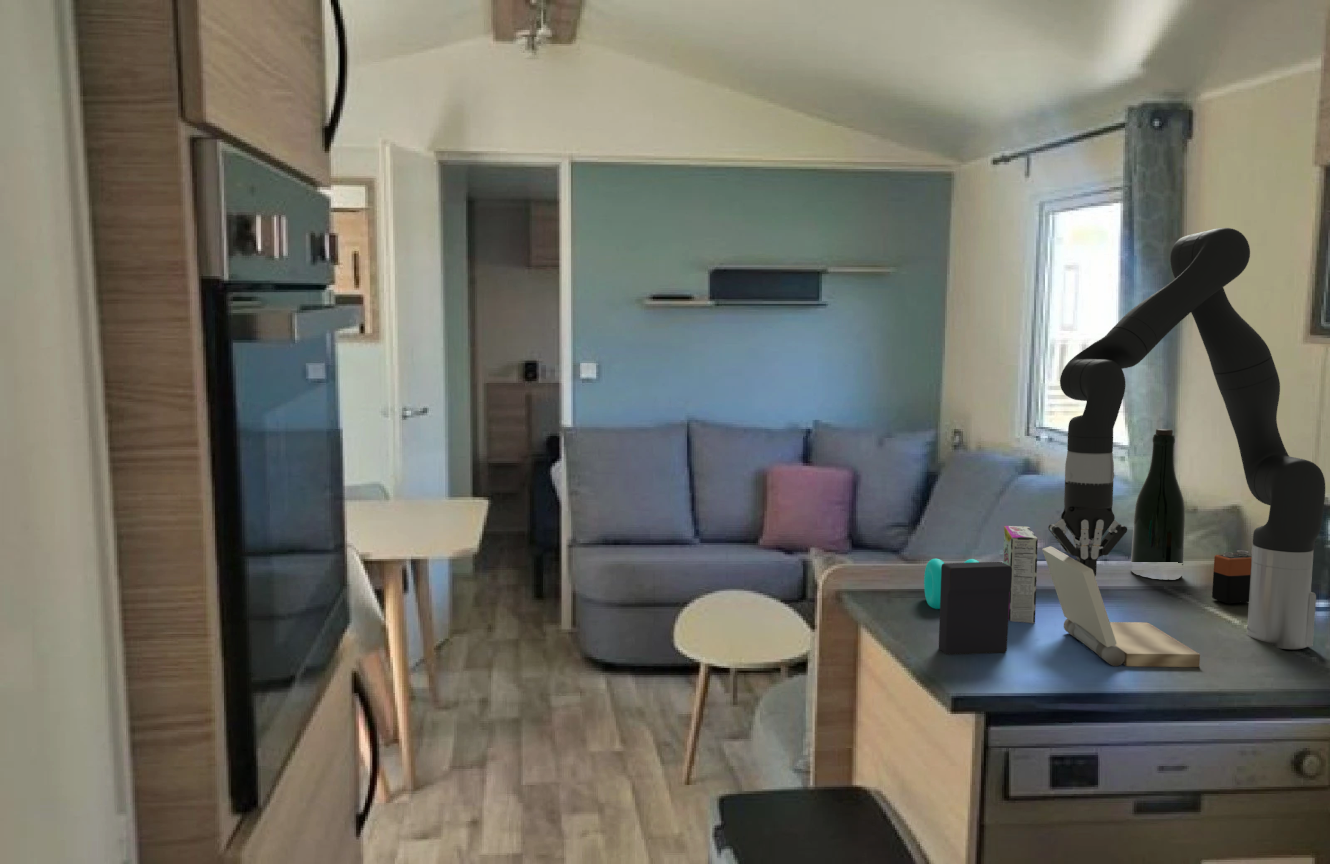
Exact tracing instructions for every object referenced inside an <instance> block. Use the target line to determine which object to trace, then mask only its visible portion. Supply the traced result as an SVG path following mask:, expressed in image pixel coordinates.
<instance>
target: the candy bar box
mask: <svg viewBox="0 0 1330 864" xmlns="http://www.w3.org/2000/svg"><path fill="white" fill-rule="evenodd" d="M1038 540H1039V538H1038V537H1037V536H1036V534H1035V533H1034V531H1033V530H1032V529H1031V527H1029V526H1022V525H1021V526H1019V525H1004V526H1003V550H1002V551H1003V553H1002V555H1003V556H1002V558H1003V559H1002V563H1005V564H1007V565H1009V566H1011V567H1012V583H1011V590H1010V592H1009V611H1008V622H1016V623H1025V624H1027V623H1028V624H1036V607H1037V605H1036V604H1037V603H1036V601H1037V599H1036V598H1037V572H1038V570H1037V569H1038V543H1039V541H1038Z"/></svg>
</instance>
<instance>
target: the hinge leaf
mask: <svg viewBox="0 0 1330 864" xmlns="http://www.w3.org/2000/svg"><path fill="white" fill-rule="evenodd" d="M1041 550H1042V552H1043V555H1044V560H1045V561H1046V562H1045V563H1046V564H1047V568H1048V571H1049V575H1050V577H1051V580H1052V583H1053V586H1054V589H1055V592H1056V594H1057V599H1058V602H1059V604H1060V607H1061V611H1062V613H1063V616H1064V618H1066V619H1069V620H1070V621H1072V622H1073V623H1074V624H1075V629H1074V636H1075V637H1076V638H1077V639H1076V638H1075V637H1074V638H1075V639H1076V640H1078V641H1079V642H1081V643H1082V644H1083V645H1085V646H1086V647H1087V648H1089V649H1090V650H1091V651H1093V652H1094V653H1095V654H1097V652H1096V648H1097V645H1098V644H1099V643H1100V642H1101V643H1102V644H1103V645H1105V646H1106V647H1110V646H1113V645H1116V644H1117V643H1116V640H1115V637H1114V634H1113V631H1112V628H1111V624H1110V622H1111V621H1110V618H1109V615H1108V612H1107V610H1106V606H1105V603H1104V600H1103V597H1102V594H1101V591H1100V588H1099V585H1098V582H1097V579H1096V576H1095V575H1094V572H1093V570H1092V569H1091V568H1089V567H1087V566H1085V565H1084V564H1082V563H1080V562H1078V561H1077V559H1075V558H1073V557H1071V556H1069V555H1068V554H1066V553H1064V552H1063V551H1060V550H1058V549H1057V548H1055V547H1053V546H1051V545H1050V546H1047V547H1044V548H1042V549H1041Z"/></svg>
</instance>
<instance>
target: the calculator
mask: <svg viewBox="0 0 1330 864" xmlns="http://www.w3.org/2000/svg"><path fill="white" fill-rule="evenodd" d="M1011 583H1012V567H1011V566H1009V565H1007V564H1005V563H1003V561H979V562H973V563H964V562H953V563H952V562H947V563H946V562H944V564H942V567H941V595H940V609H939V623H938V624H939V625H938V626H939V629H938V630H939V631H938V633H939V634H938V649H939V651H941V652H942V653H943V654H945V655H946V656H947V655H976V654H977V655H979V654H980V655H981V654H982V655H983V654H1002V653H1003V654H1005V653H1006V652H1007V651H1008V633H1009V620H1008V611H1009V592H1010V590H1011Z"/></svg>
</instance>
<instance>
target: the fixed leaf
mask: <svg viewBox="0 0 1330 864" xmlns="http://www.w3.org/2000/svg"><path fill="white" fill-rule="evenodd" d="M1110 624H1111V628H1112V631H1113V634H1114V637H1115V640H1116V643H1117V644H1116V645H1113V646H1110V647H1106V646H1105V645H1103V644H1102V643H1101V642H1100V643H1099V644H1098V645H1097V648H1096V652H1097V653H1096V655H1097V656H1099V658H1101V659H1102V660H1103V661H1105V662H1106V663H1107V664H1109V665H1111V666H1113V667H1119V666H1121V665H1122V664H1123V665H1124V666H1125V667H1156V668H1157V667H1159V668H1160V667H1161V668H1166V667H1167V668H1169V667H1170V668H1177V667H1179V668H1200V662H1201V653H1199V652H1197V651H1195V650H1194V649H1192V648H1190V647H1189V646H1188V645H1186V644H1184V643H1183V642H1180V641H1179V640H1177V639H1176V638H1174V637H1173V636H1170V635H1169V634H1167V633H1166V632H1164V631H1163V630H1161V629H1159V628H1158V627H1156V626H1154V625H1152V624H1151V623H1149V622H1140V621H1137V622H1134V621H1130V622H1129V621H1125V622H1124V621H1120V622H1119V621H1115V622H1114V621H1110ZM1063 629H1064V630H1065V631H1066V632H1067V633H1068V634H1069V635H1070V636H1072V637H1073V638H1074V639H1076V640H1078V639H1077V638H1076V637H1075V636H1074V629H1075V624H1074V623H1073V622H1072V621H1070V620H1069V619H1067V618H1066V619H1065V620H1064V622H1063Z"/></svg>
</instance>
